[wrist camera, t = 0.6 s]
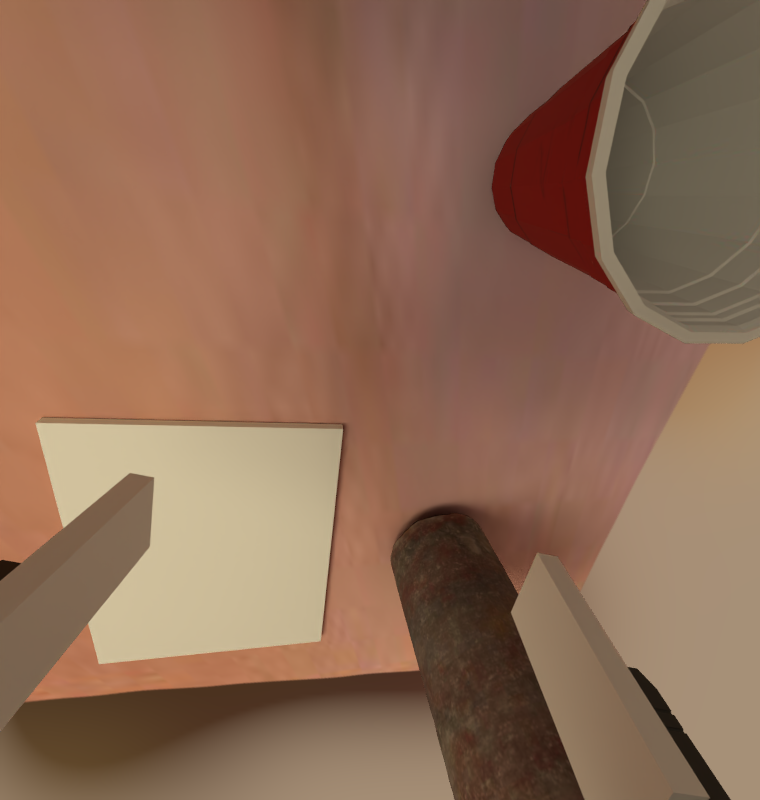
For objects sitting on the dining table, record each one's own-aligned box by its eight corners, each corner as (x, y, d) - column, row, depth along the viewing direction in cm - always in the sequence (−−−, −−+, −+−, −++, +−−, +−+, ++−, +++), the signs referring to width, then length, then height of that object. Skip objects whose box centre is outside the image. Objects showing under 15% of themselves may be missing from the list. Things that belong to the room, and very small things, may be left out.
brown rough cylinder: (374, 520, 29) (504, 1029, 11) (469, 487, 29) (743, 926, 11) (400, 586, 32) (528, 1047, 14) (484, 555, 32) (709, 969, 15)
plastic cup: (609, -18, 17) (1095, -365, 7) (653, 213, 22) (972, 219, 12) (402, 126, 18) (550, 16, 8) (489, 318, 23) (651, 410, 13)
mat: (42, 417, 21) (35, 423, 20) (342, 424, 24) (343, 429, 24) (102, 655, 29) (99, 664, 29) (320, 634, 33) (320, 641, 32)
